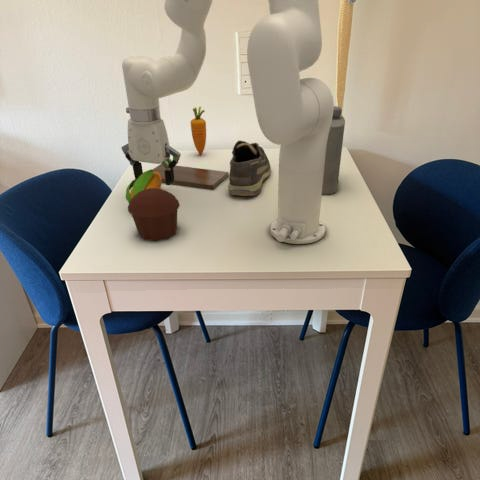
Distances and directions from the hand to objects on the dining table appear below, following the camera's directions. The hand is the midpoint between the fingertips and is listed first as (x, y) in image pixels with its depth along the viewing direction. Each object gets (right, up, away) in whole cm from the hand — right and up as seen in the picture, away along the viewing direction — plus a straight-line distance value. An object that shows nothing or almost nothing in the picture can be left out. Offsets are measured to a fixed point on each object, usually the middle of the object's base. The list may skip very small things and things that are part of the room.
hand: (154, 181), depth 120 cm
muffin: (+4, -17, -16) cm, 24 cm away
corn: (-1, -6, -1) cm, 6 cm away
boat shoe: (+27, +3, +8) cm, 28 cm away
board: (+7, +4, +11) cm, 14 cm away
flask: (+48, 0, +4) cm, 48 cm away
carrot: (+10, +17, +27) cm, 33 cm away
